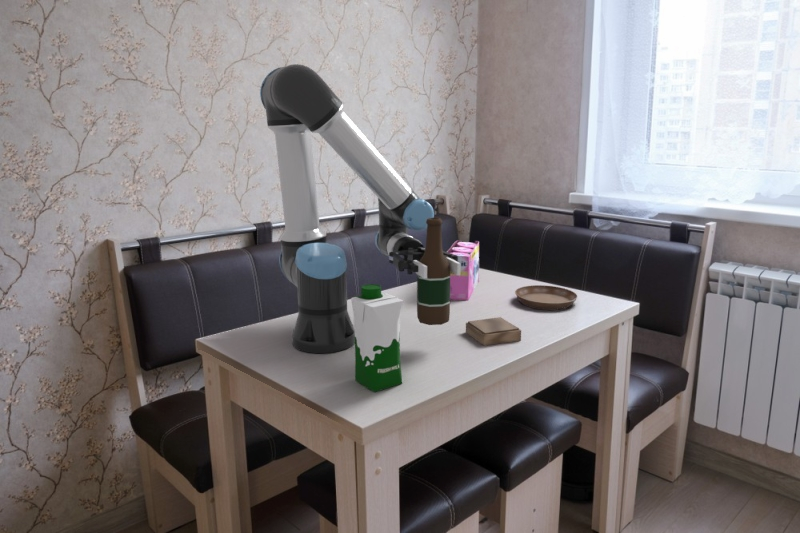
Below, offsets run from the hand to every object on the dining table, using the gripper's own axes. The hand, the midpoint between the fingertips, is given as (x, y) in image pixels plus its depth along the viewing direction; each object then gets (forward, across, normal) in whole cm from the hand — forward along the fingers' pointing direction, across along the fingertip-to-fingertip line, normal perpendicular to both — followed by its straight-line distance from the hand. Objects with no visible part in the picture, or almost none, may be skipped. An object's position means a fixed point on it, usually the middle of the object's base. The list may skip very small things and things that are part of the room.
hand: (442, 270), depth 140 cm
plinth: (-7, -17, -20) cm, 27 cm away
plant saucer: (-27, -45, -20) cm, 56 cm away
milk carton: (+9, +18, -20) cm, 29 cm away
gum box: (-48, -28, -20) cm, 59 cm away
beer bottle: (-5, 0, -13) cm, 14 cm away
